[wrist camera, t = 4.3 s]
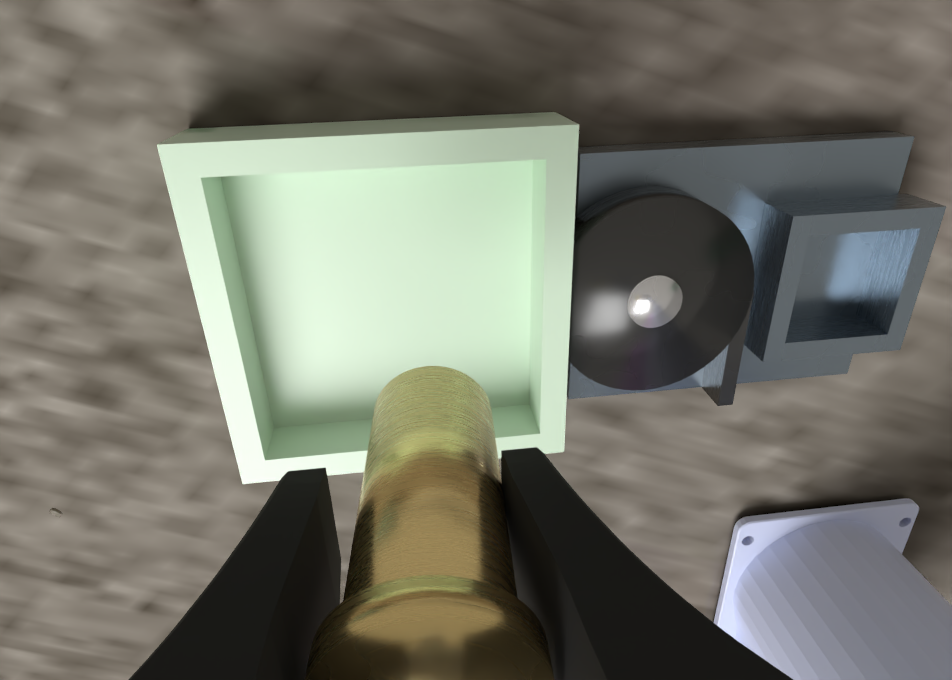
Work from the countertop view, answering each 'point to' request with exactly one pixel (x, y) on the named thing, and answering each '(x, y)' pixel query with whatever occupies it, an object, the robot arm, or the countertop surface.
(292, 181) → the tray
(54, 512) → the figurine with sign
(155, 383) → the countertop surface
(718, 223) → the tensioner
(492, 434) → the pin
